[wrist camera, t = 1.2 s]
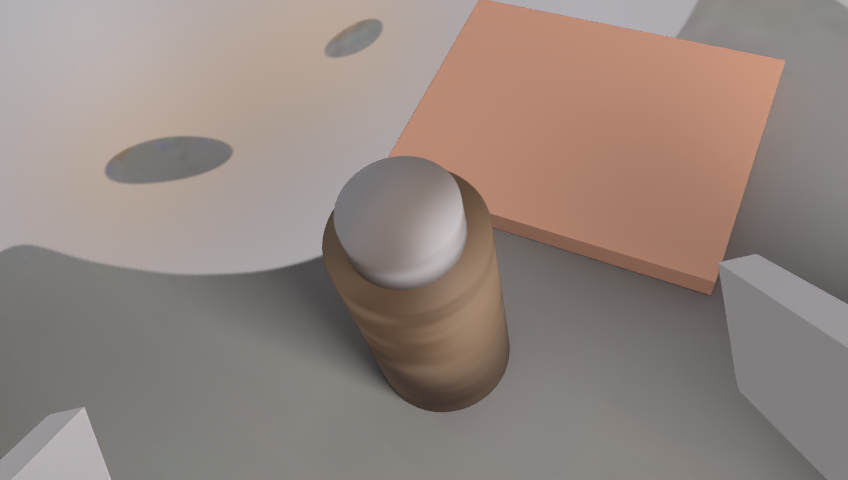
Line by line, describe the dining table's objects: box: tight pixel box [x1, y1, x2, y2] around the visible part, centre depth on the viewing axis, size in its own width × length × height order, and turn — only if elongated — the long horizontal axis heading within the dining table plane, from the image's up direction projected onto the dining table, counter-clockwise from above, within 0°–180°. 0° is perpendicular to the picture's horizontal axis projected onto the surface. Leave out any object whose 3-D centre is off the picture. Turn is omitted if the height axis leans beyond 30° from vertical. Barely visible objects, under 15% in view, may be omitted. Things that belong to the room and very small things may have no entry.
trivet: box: [388, 0, 785, 295], centre depth 46 cm, size 20×16×2 cm
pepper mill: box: [322, 156, 510, 412], centre depth 35 cm, size 7×7×14 cm
